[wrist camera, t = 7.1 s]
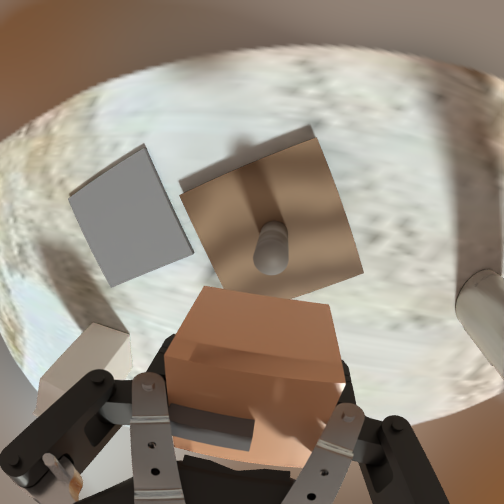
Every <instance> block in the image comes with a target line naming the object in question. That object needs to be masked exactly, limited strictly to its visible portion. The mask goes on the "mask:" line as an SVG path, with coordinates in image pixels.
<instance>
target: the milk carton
mask: <svg viewBox="0 0 504 504" xmlns="http://www.w3.org/2000/svg"><path fill="white" fill-rule="evenodd" d="M132 368H133V364H132V355H131V344H130V335H129V334H126V333H123V332H120V331H117V330H114V329H111V328H108V327H106V326H103V325H100V324H97V323H94V322H93V323H92V324H91V325H90V326H89V327H88V328H87V329H86V330H85V331H84V332H83V333H82V334H81V335H80V336H79V337H78V338H77V339H76V340H75V341H74V342H73V343H72V344H71V346H70V347H69V348H68V349H67V350H66V351H65V352H64V353H63V354H62V355H61V356H60V357H59V358H58V359H57V361H56V362H55V363H54V364H53V365H52V366H51V367H50V368H49V369H48V370H47V372H46V373H45V374H44V375H43V376H42V377H41V378H40V382H39V389H38V397H37V407H36V410H35V411H34V412H33V415H35V416H36V417H39V416H40V415H41V414H42V413H43V412H45V411H46V410H47V409H48V408H49V407H50V406H51V405H52V404H53V403H54V402H56V401H57V400H58V399H59V398H60V397H61V396H62V395H63V394H64V393H66V392H67V391H68V390H69V389H70V388H71V387H72V386H73V385H74V384H76V383H77V382H78V381H79V380H80V379H81V378H82V377H83V376H85V375H86V374H87V373H88V372H90V371H92V370H95V369H103V370H106V371H108V372H110V373H111V374H112V375H113V377H114V380H125V379H126V377H127V375H128V374H129V372H130V371H131V369H132Z"/></svg>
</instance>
